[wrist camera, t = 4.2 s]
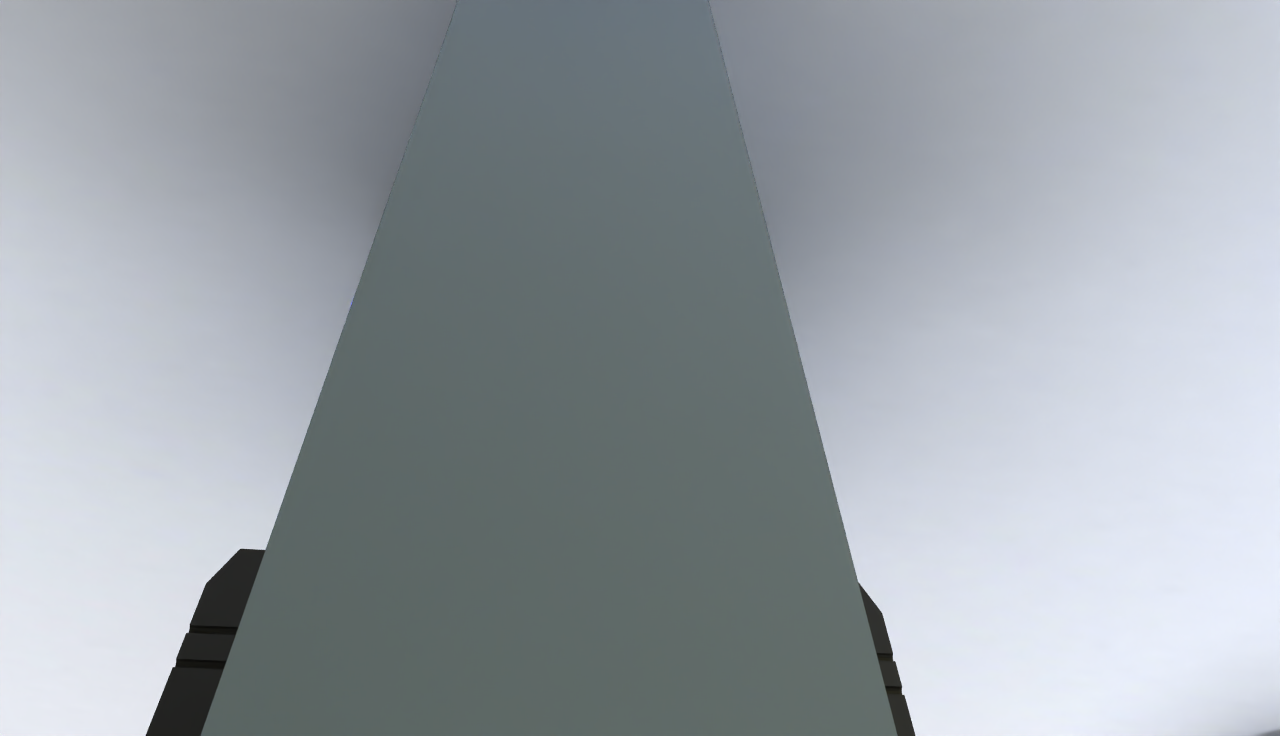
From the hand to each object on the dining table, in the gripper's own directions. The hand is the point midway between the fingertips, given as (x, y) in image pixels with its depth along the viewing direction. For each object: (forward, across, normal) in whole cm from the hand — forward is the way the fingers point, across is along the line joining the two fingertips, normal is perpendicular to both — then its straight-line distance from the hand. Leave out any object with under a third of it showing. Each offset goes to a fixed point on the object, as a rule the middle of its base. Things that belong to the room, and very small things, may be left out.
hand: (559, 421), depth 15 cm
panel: (+3, 0, 0) cm, 3 cm away
